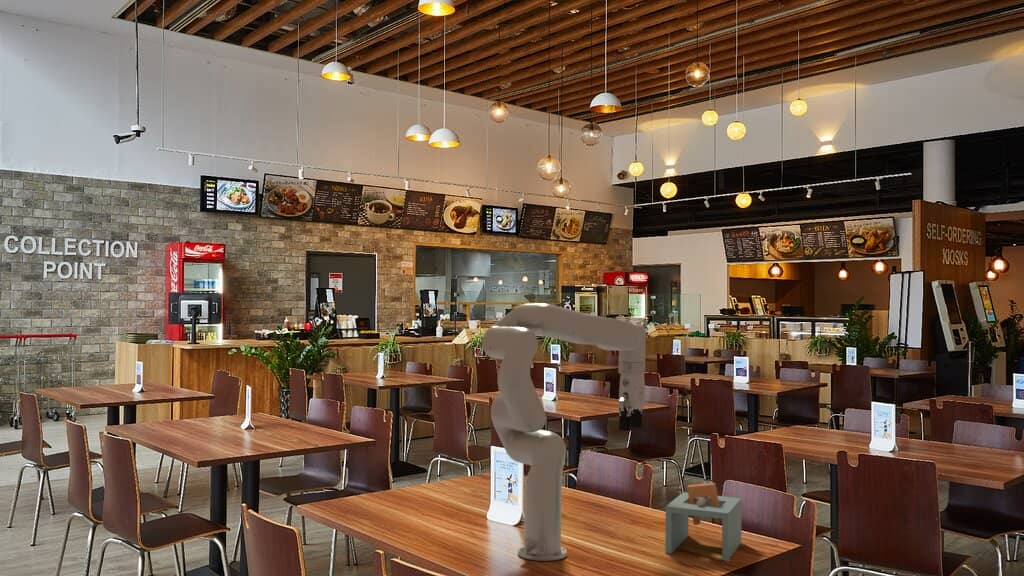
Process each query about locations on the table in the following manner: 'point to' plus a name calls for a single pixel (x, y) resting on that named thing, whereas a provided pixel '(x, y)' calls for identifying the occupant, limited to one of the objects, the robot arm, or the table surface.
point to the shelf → (682, 509)
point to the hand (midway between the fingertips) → (630, 428)
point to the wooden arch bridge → (703, 491)
